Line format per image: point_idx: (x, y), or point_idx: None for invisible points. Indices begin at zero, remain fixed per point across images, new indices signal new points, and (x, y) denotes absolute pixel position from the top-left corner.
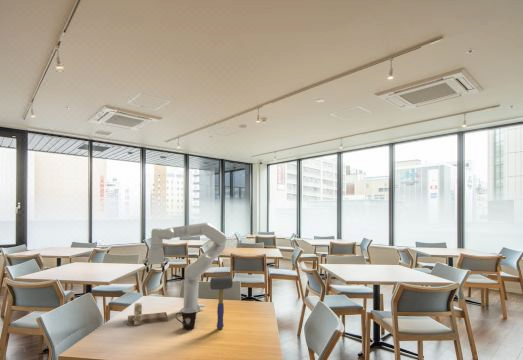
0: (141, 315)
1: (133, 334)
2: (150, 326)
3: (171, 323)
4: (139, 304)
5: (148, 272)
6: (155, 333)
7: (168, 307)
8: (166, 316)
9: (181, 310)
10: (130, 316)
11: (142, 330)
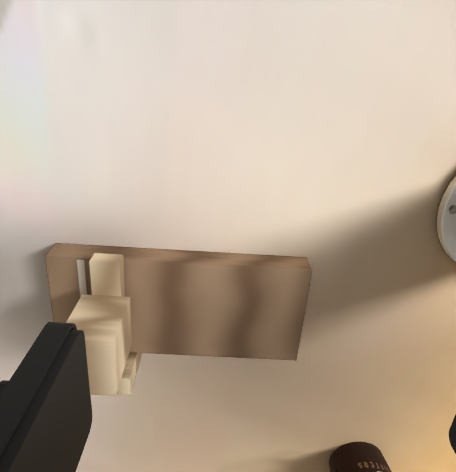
0: (128, 394)
1: (104, 446)
2: (188, 386)
3: (300, 383)
4: (96, 377)
5: (86, 434)
6: (200, 464)
7: (395, 36)
8: (290, 353)
9: (441, 216)
10: (64, 276)
11: (145, 419)
